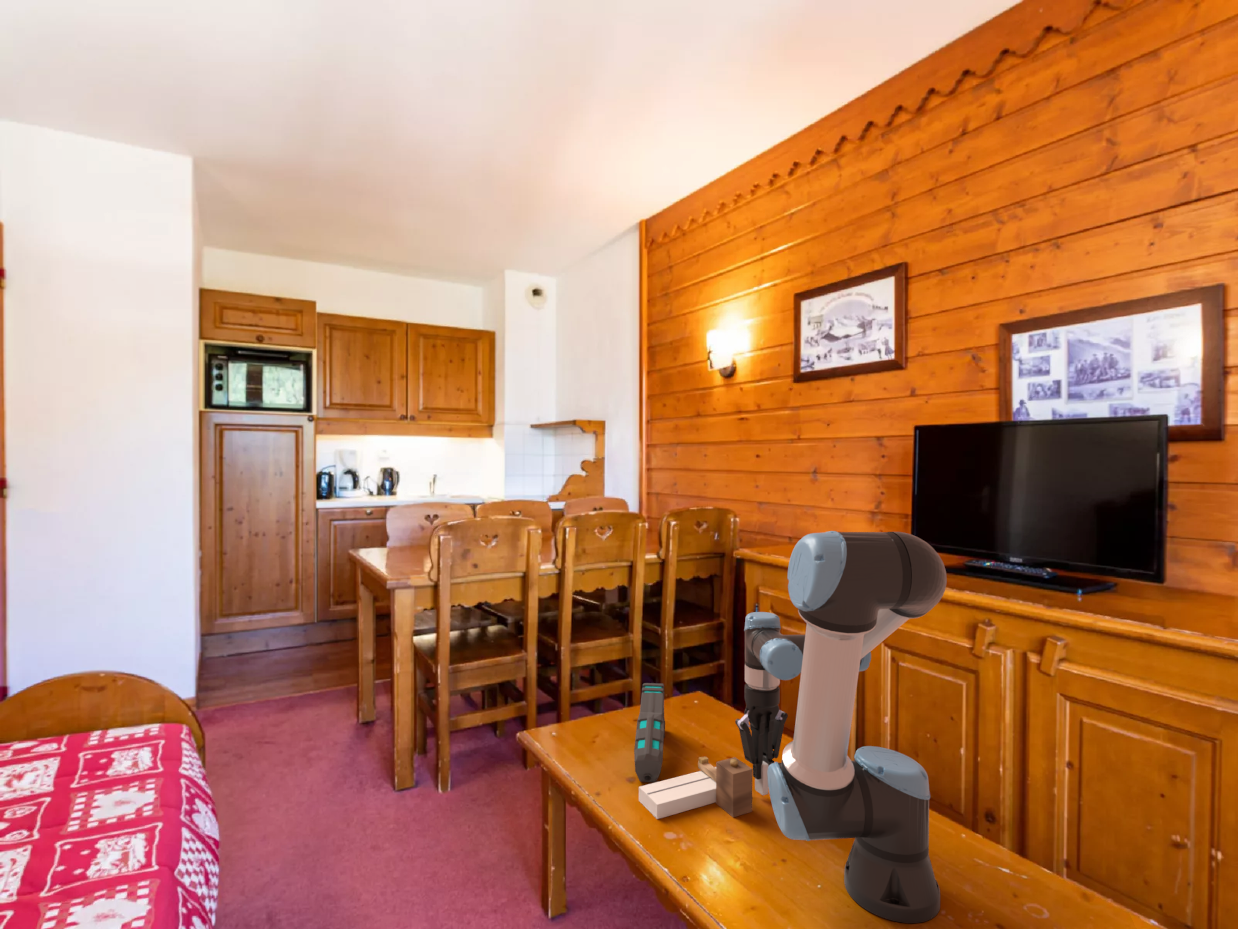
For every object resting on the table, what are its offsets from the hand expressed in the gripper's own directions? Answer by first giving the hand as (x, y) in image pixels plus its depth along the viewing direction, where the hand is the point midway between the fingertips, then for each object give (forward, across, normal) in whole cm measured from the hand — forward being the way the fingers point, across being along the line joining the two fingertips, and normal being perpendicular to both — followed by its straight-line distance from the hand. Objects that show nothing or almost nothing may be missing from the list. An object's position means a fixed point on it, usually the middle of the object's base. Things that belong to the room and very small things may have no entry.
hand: (761, 791), depth 138 cm
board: (+2, +14, -7) cm, 15 cm away
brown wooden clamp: (+2, +8, -5) cm, 9 cm away
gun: (+2, +12, -29) cm, 31 cm away
